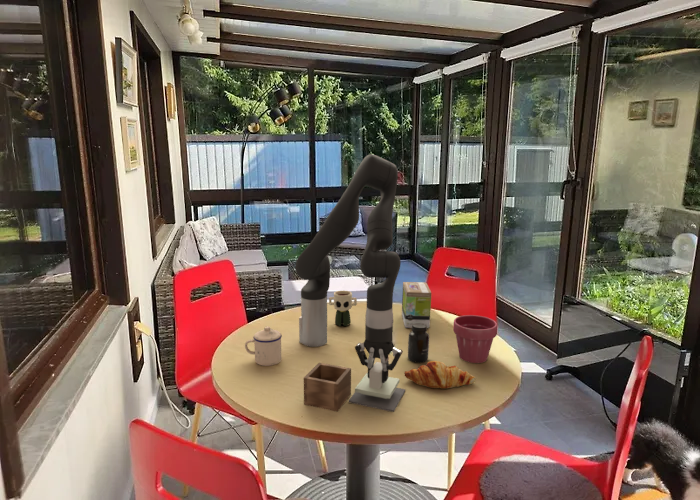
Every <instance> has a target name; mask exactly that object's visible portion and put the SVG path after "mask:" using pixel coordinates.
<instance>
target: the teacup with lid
mask: <svg viewBox="0 0 700 500" xmlns="http://www.w3.org/2000/svg"><path fill="white" fill-rule="evenodd" d="M282 337H283V336H282V333H281V332H280V331H279V330H278V329H273V328H271V326H264V329H262V330H258V331H256V332H255V333H254V334H253V337H252V339H248V340H246V342H245V343H244V349H245V351H246V352H247V353H248V354H250V355H254V361H255V363H256V364H257V365H260V366H263V367H264V366H265V367H270V366H276V365H277V364H279V363H280V362H281V361H282V358H283V357H282ZM249 343H254V344H253V345H254V346H253V347H254V351H253V350H250V349H249V347H248V344H249Z"/></svg>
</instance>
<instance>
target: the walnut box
mask: <svg viewBox="0 0 700 500" xmlns="http://www.w3.org/2000/svg"><path fill="white" fill-rule="evenodd" d="M350 396H352V368H350V367H346V366H339V365H334V364H328V363H323V362H318V363H317V364H316V365H315V366H314V367H312V369H311V370H310V371H309V372H308V373H307V374H306V375H304V376H303V406H309V407H313V408H319V409H323V410H328V411H332V412H336V413H337V412H339V411H340V410H341V408H342V407H343V405H344V404H345V403H346V402H347V400H349V399H350Z"/></svg>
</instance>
